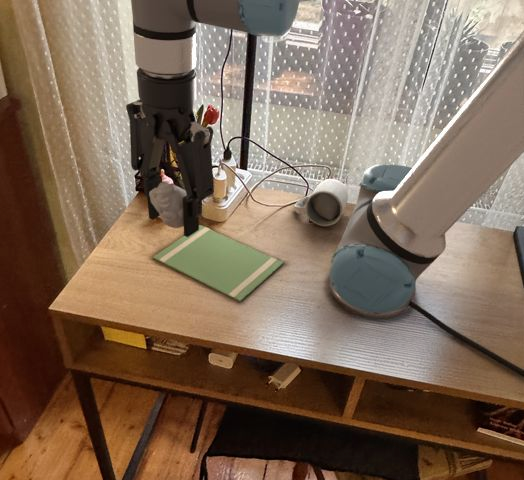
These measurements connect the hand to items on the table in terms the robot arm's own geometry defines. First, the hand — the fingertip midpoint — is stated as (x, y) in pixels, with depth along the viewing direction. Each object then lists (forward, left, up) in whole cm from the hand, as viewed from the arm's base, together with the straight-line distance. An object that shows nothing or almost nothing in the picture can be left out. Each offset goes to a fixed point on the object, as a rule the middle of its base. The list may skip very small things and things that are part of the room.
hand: (173, 223), depth 85 cm
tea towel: (0, -11, -14) cm, 18 cm away
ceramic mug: (-7, -37, -14) cm, 41 cm away
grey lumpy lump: (0, 0, 0) cm, 0 cm away
